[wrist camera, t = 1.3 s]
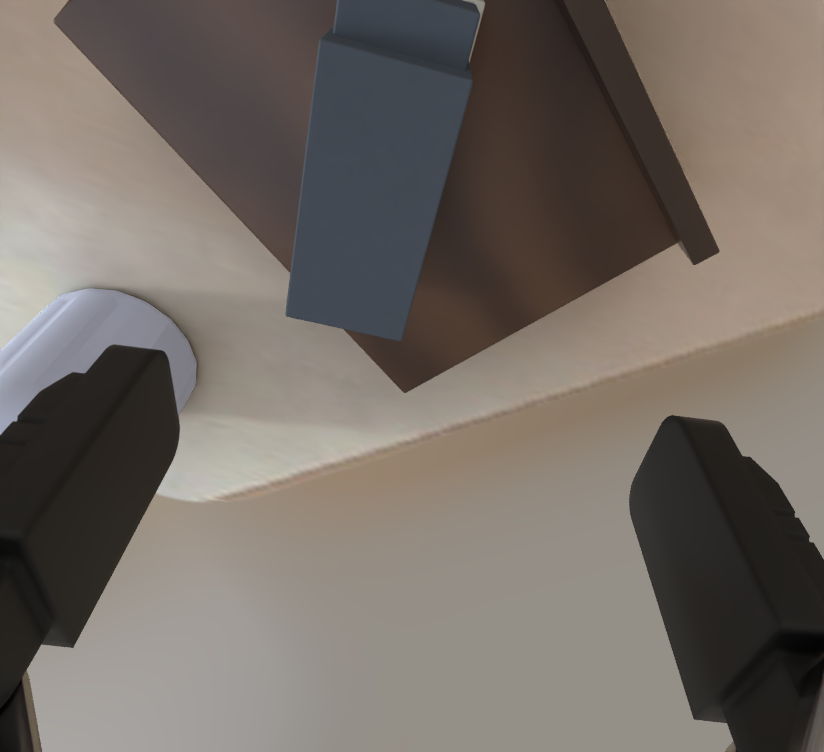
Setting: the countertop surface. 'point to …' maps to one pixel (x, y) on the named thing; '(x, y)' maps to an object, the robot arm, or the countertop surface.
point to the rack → (470, 167)
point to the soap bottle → (87, 345)
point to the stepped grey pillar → (378, 158)
